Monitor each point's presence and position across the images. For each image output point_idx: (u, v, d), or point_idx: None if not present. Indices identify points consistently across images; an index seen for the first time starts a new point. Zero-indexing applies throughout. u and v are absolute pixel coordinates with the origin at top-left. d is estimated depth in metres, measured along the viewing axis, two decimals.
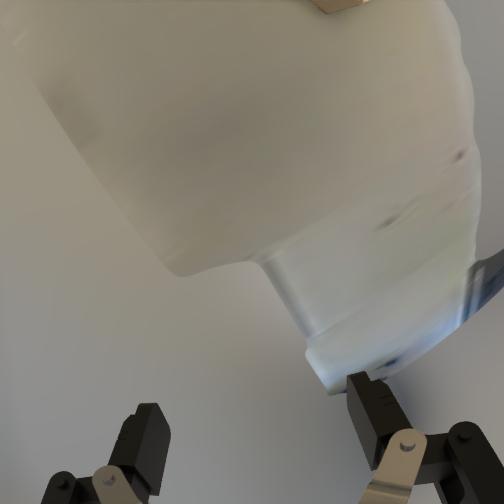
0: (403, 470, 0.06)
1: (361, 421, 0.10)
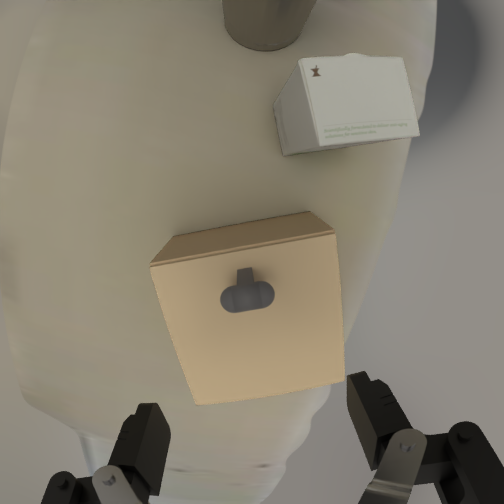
0: (403, 470, 0.06)
1: (361, 421, 0.10)
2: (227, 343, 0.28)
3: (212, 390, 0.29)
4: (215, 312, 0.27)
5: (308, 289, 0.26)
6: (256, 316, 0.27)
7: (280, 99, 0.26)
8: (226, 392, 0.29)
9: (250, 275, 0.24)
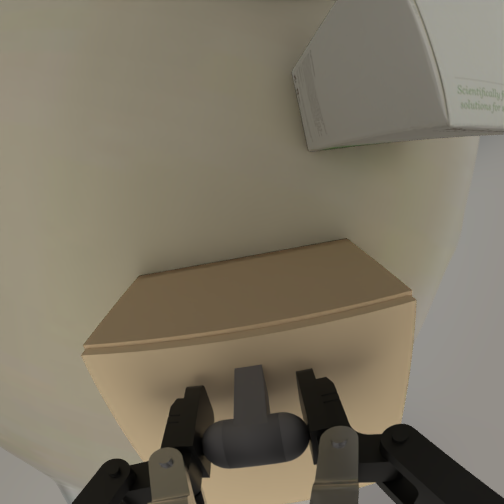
0: (343, 465, 0.07)
1: (304, 416, 0.10)
2: None
3: None
4: None
5: (358, 390, 0.14)
6: None
7: (311, 52, 0.14)
8: (222, 502, 0.17)
9: (261, 393, 0.11)
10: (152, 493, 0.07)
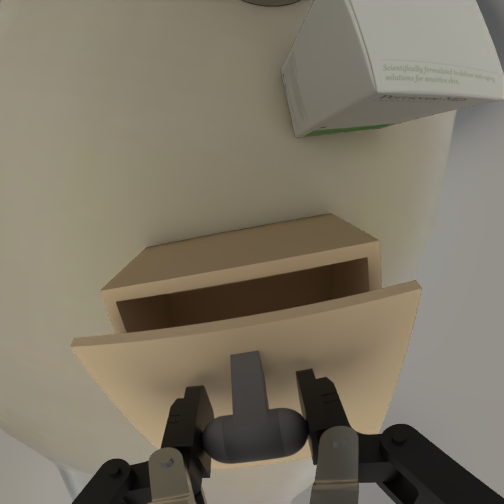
0: (342, 465, 0.07)
1: (304, 416, 0.10)
2: None
3: None
4: None
5: (355, 369, 0.14)
6: None
7: (293, 53, 0.17)
8: (218, 463, 0.19)
9: (259, 387, 0.11)
10: (152, 493, 0.07)
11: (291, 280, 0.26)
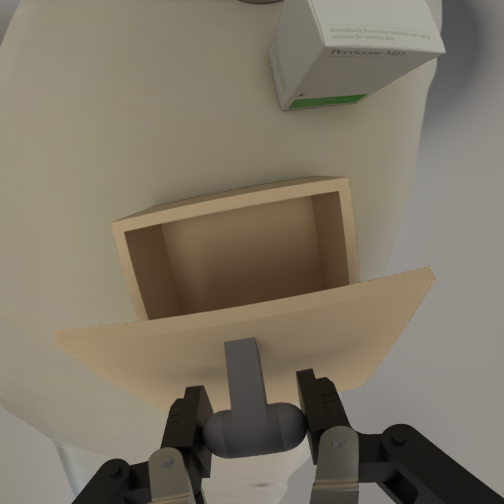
0: (343, 465, 0.07)
1: None
2: (210, 390, 0.17)
3: None
4: (187, 375, 0.15)
5: (352, 342, 0.14)
6: None
7: (276, 37, 0.20)
8: None
9: (258, 383, 0.11)
10: (152, 493, 0.07)
11: (279, 235, 0.29)
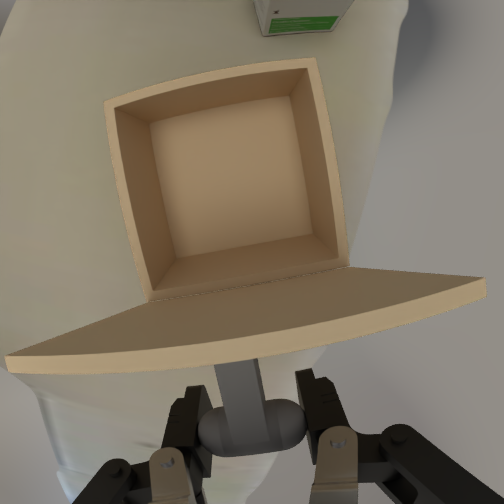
0: (342, 465, 0.07)
1: None
2: None
3: None
4: None
5: None
6: None
7: None
8: None
9: (257, 400, 0.09)
10: (153, 493, 0.07)
11: (262, 139, 0.29)
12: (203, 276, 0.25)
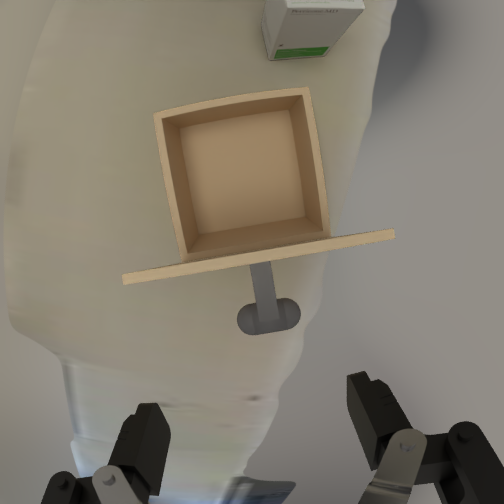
0: (403, 470, 0.06)
1: (361, 421, 0.10)
2: None
3: None
4: None
5: None
6: None
7: (265, 10, 0.29)
8: None
9: (273, 292, 0.18)
10: None
11: (267, 143, 0.38)
12: (224, 243, 0.34)
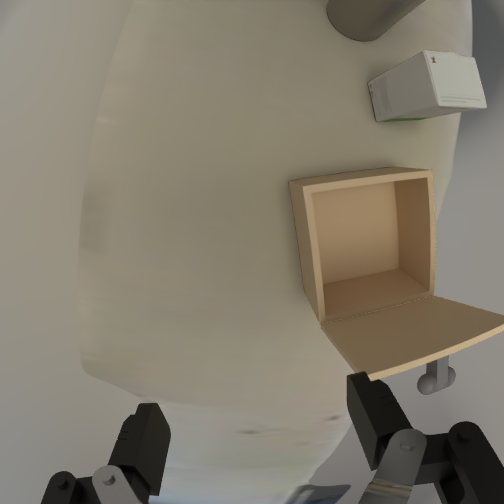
0: (403, 470, 0.06)
1: (361, 421, 0.10)
2: None
3: None
4: None
5: None
6: None
7: (385, 77, 0.31)
8: None
9: (447, 366, 0.21)
10: None
11: (374, 204, 0.41)
12: (352, 303, 0.37)
